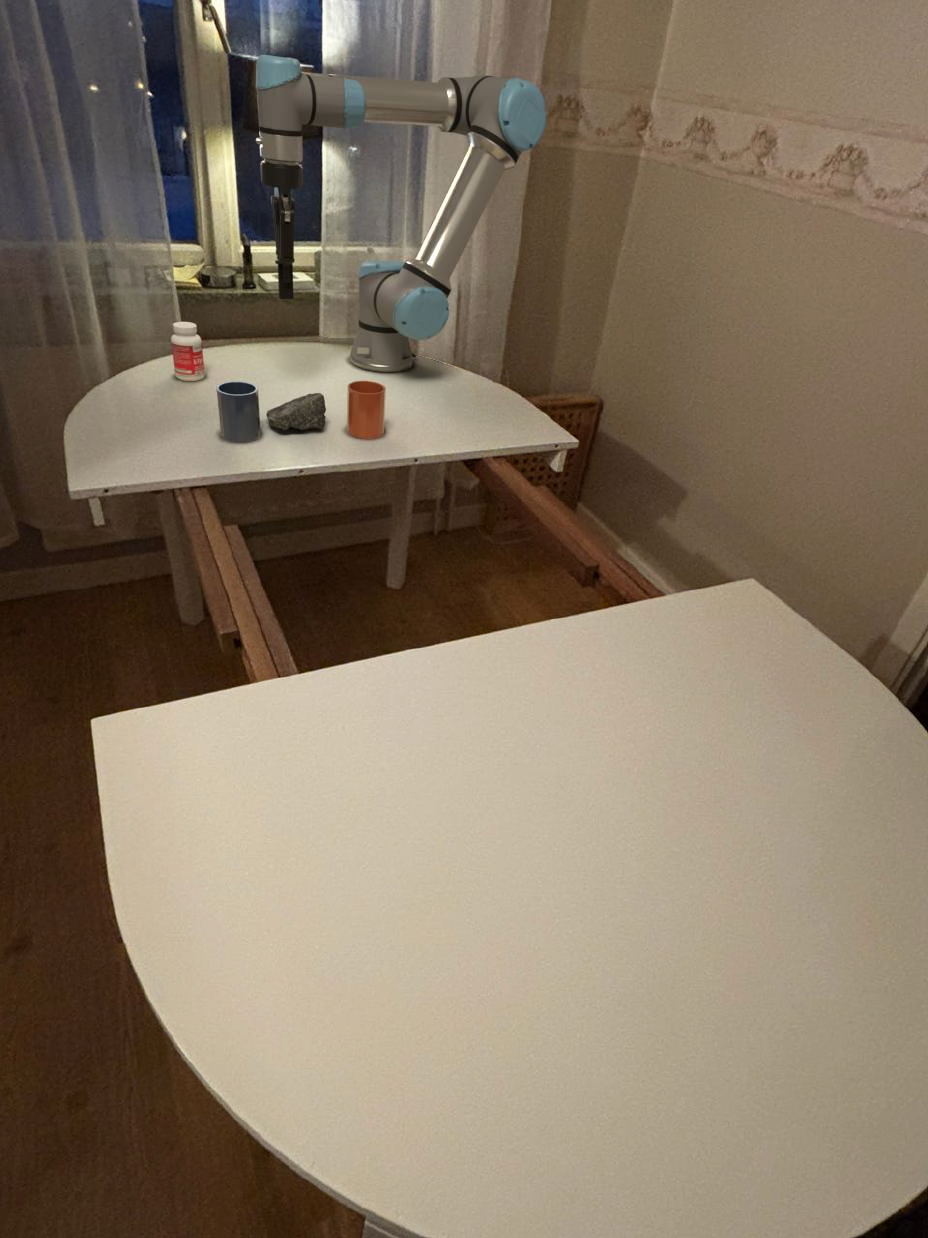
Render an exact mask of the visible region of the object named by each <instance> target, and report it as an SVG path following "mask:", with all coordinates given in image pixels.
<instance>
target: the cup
mask: <svg viewBox="0 0 928 1238" xmlns="http://www.w3.org/2000/svg"><path fill="white" fill-rule="evenodd" d="M216 398H217V407H218V408H217V409H218V419H219V430H220V436H221V438H222V439H224V440H225V441H228V442H230V443H231V442H232V443H238V444H239V443H251V442H254V441H257V440H258V439H260V438H261V433H262V432H261V418H260V417H261V416H260V399H259V388H258V386H257V385H255V384H254V383H251V382H247V381H241V380H239V381H238V380H237V381H232V380H231V381H226V382H225V381H224V382H222V383H219V384H218V385H217V386H216Z"/></svg>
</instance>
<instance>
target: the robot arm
mask: <svg viewBox="0 0 928 1238" xmlns="http://www.w3.org/2000/svg"><path fill="white" fill-rule="evenodd" d="M255 65H256V66H255V67H256V69H255V89H256V102H257V117H258V131H259V134H258V135H259V137H256V139H255V143H256V144H257V145H259V156H260V157H261V158H262V159H263V160H262V161H261V162H260V180H261V183H262V185H263V186H265V187H269V188H274V189H273V190H274V192H273V193H274V195H271V196H270V204H271V206H272V218H273V223H274V239H275V255H276V259H275V260H274V261H275V265H277V280H278V281H277V282H278V285H277V286H278V299H279V300H295V299H294V267H293V266H294V265H293V264H294V263H295V262H296V261H295V260H296V259H295V216H296V213H295V210H296V201H295V199H294V198H293V197H292V192H291V190H299V189H302V188H303V187H304V186H303V185H304V172H303V169H304V168H303V167H302V164H300V163H301V162H303V160H304V159H303V156H304V155H303V153H304V151H303V131H302V130H303V125H305V126H318V127H325V128H326V127H327V128H337V129H343V130H347V129H359V128H360V127H361V126H362V125H363V123H365V124H366V123H367V124H368V123H369V124H386V125H387V124H389V125H407V126H424V127H425V126H426V127H436V128H437V130H438V131H440V132H442V133H452V134H458V135H461V136H464V137H466V138H467V143H468V148H467V150H466V153H465V155H463V156H464V157H463V158H462V160H461V163H460V165H459V167H458V169H457V171H456V173H455V175H454V177H453V178H452V181H451V183H450V185H449V187H448V190H447V191H446V193H445V196H444V198H443V200H442V201H441V203H440V206H439V208H438V210H437V212H436V213H435V216H434V218H433V220H432V222H431V224H430V226H429V228H428V231H427V232H426V234H425V237H424V239H423V240H422V242H421V245H420V247H419V249H418V251H417V253H416V255H415V256H414V257H413V258H410V259H407V260H405V261H398V260H367V261H363V262H362V263H361V264H360V266H359V275H358V325H357V327H358V328H357V331H356V334H355V337H354V340H353V342H352V346H351V349H350V353H349V354H350V358H349V359H350V363H351V364H353V366H355V367H357V368H361V369H364V370H367V371H372V372H379V373H397V372H405V371H407V370H408V369H409V370H410V368H411V367H412V366H413V361H414V360H413V359H416V358H417V355H416V354H415V353H413V352H412V348H411V344H410V341H409V339H411V340H415V341H426V340H429V339H432V338H434V337H435V336H437V335H438V334H439V333H441V331H442V330H443V329H444V327H445V326H446V324H447V322H448V319H449V315H450V309H449V306H450V304H449V301H448V298H449V296H450V294H451V292H452V291H453V289H452V284H451V277H452V275H453V273H454V271H455V269H456V267H457V266H458V263H459V261H460V259H461V257H462V255H463V253H464V252H465V249H466V247H467V245H468V243H469V241H470V239H471V237H472V235H473V233H474V232H475V229H476V227H477V226H478V224H479V222H480V219H481V218H482V215H483V214H484V212H485V210H486V208H487V205H488V204H489V202H490V199H491V197H492V196H493V194H494V192H495V190H496V188H497V186H498V184H499V182H500V181H501V178H502V176H503V174H504V172H505V171H507V170H510V169H513V168H515V166H516V165H517V163H518V160H519V159H520V157H521V154H523V152H527V151H529V150H531V149H534V148H535V147H536V146H537V145H538V144H539V142H540V141H541V139H542V137H543V135H544V132H545V129H546V124H547V111H546V102H545V99H544V97H543V94H542V92H541V91H540V89H539V88H538V87H537V86H536V85H535V84H534V83H532V82H530V81H528V80H524V79H522V78H520V77H512V78H511V77H510V78H509V77H503V76H494V75H475V76H465V77H464V76H461V77H447V76H443V77H440V79H439V80H438V81H436V82H435V81H434V82H433V81H423V80H422V81H421V80H410V79H409V80H408V79H396V78H384V77H383V78H382V77H371V76H356V75H344V74H331V73H329V74H328V73H327V74H326V73H319V72H318V73H317V72H305V71H303V70H302V69H301V68H302V67H301V62H300V61H299V60H298V59H297V58H293V57H285V56H284V57H283V56H276V55H268V54H261V55H259V56H258V58H257V59H256V63H255Z"/></svg>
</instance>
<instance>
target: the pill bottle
mask: <svg viewBox="0 0 928 1238" xmlns="http://www.w3.org/2000/svg"><path fill="white" fill-rule="evenodd" d="M172 331H173V332H174V334H172V335H171V337H170V343H171V344H170V345H171V351H172V361H173V369H174V375H175V377H176V378H177V379H178V380H181V381H185V382H186V381H187V382H196V381H201V380H203V379H204V378H205V377H206V372H205V362H204V351H203V343H202V337H201V336H200V335H198V334H197V332H198V327H197V323H194V322H190V321H177V322H174V323H172Z"/></svg>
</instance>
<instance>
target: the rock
mask: <svg viewBox="0 0 928 1238" xmlns="http://www.w3.org/2000/svg"><path fill="white" fill-rule="evenodd" d="M326 411H327V408H326V400H325V396H324V394H322V393H320V392H314V393H307V394H306V395H302V396H299V397H296V398H293V399H292V400H289V401H286V402H285V403H283V404H281V405H279V406H276V407H273V408H271V409H269V410H267V411H266V414H265V415H266V418H267V420H268V422H269V423H270V425H271V426H272V427H274V428H276V429H281V430H282V431H287V430H289V428H294V429H298V430H300V431H306V430H309V429H323V428H324V427H325V424H326V417H327V416H326V415H325V414H326Z"/></svg>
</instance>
